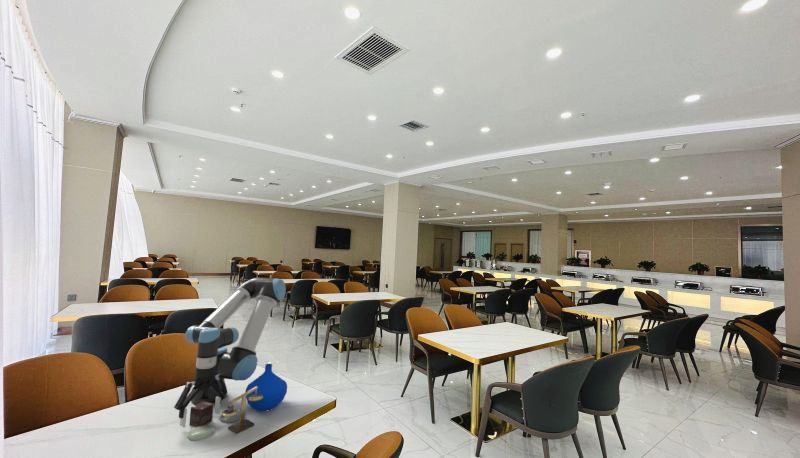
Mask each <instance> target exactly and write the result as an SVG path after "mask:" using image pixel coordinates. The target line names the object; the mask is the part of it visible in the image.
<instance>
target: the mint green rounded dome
mask: <svg viewBox="0 0 800 458" xmlns="http://www.w3.org/2000/svg"><path fill="white" fill-rule="evenodd" d="M214 432H215V427H214V426H212V425H208V424H206V425H203V426H198V427H195V426H194V427H193V428H191V429H190V430H189V431H188V432H187V435H186V438H187V439H188V440H189V441H202V440H205V439H208V438H209V437H211V436H213V434H214Z"/></svg>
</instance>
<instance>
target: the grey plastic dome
mask: <svg viewBox="0 0 800 458" xmlns="http://www.w3.org/2000/svg"><path fill="white" fill-rule="evenodd" d="M240 414H241V410H239V413H238V414H237V415H235V416H233V417H223V416H222V415H221V416H220V419H219V420H220V422H221V423H222V424H226V425H227V424H236V423H238V422H240Z"/></svg>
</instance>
